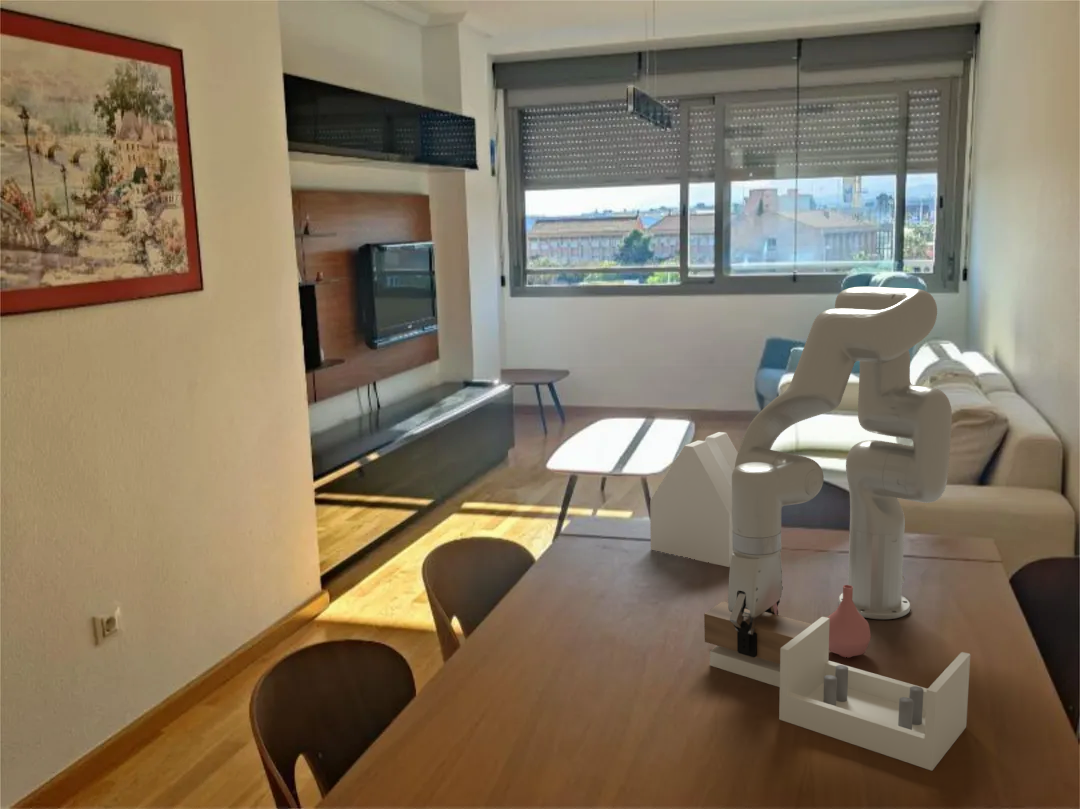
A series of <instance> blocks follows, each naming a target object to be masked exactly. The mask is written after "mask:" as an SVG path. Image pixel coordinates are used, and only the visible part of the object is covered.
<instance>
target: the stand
mask: <svg viewBox="0 0 1080 809" xmlns="http://www.w3.org/2000/svg"><path fill="white" fill-rule="evenodd" d="M829 623H830V618H827V616H821V617H820V618H818V619H817V620H815V621H814V622H813V623H811V624H812V625H810V626H809V627H808V628H806V629H805V630H804V631H802V632H801V633H800V634H798V635H797V636H796V637H794V638H793V639H792V640H791V641H789V642H788V643H787V644H785V645H784V646H783V647H781V648H780V687H779V707H778V708H779V709H778V710H779V711H778V712H779V713H778V715H779V716H778V717H779V718H778V719H779V720H780V721H783V722H785V723H789V724H790V725H791V724H792V725H794V726H798V727H801V728H804V729H807V730H809V731H813V732H816V733H818V734H822V735H825V736H827V737H830V738H834V739H836V740H839V741H842V742H846V743H847V744H852V745H854V746H856V747H860V748H864V749H866V750H869V751H872V752H875V753H877V754H882V755H884V756H887V757H890V758H893V759H896V760H899V761H902V762H905V763H908V764H910V765H914V766H917V767H920V768H922V769H926V770H928V771H933V770H935V768H936V767H937V765H938V764H939V763H940V761H942V759H943V757H944V756H945V755H946V753H948V751H949V750H950V749H951V748H952V746H953V745H954V743H955V742H956V741H957V739H959V737H960V736H961V735H962V733H963V732H964V731H965V729H966V728H967V720H968V702H969V683H970V668H971V654H970V653H968V652H964V651H961V652H960V653H959V654H958V655H957V656H956V657H955V658H954V660H952V662H950V664H949V665H948V666H947V667H946V668H945V669H944V671H942V673H940V675H939V676H938V677H937V678H936V679H935V680H934V681H933V682H932V683H931V684H930V686H929V687H928V688H927V687H923V686H919V685H917V684H912V683H909V682H906V681H902V680H899V679H894V678H891V677H888V676H884V675H881V674H877V673H873V672H870V671H867V670H864V669H860V668H856V667H854V666H849V665H846V664H841V663H839V662H835V661H831V660H829V658H830V656H829V653H830V650H829Z"/></svg>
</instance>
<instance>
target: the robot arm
mask: <svg viewBox="0 0 1080 809" xmlns="http://www.w3.org/2000/svg"><path fill="white" fill-rule="evenodd" d="M937 316H938V306H937V302H936V300H935V298H934V296H933V295H931V293H929V292H928V291H926V290H924V289H920V288H910V287H909V288H908V287H907V288H905V287H886V286H885V287H884V286H854V287H853V286H852V287H849V288H846V289H843V290H841V291H840V292H839V293H838V295H837V296H836V298H835V303H834V308H829V309H826V310H824V311H822V312H820V313H819V314H818V315H817V316H816V317H815V319H814V320H813V323H812V325H811V328H810V330H809V332H808V335H807V337H806V338H807V339H806V340H805V343H804V346H803V348H802V352H801V354H800V358H799V360H798V362H797V365H796V368H795V371H794V373H793V375H792V376H793V377H792V378H791V382H790V384H789V386H788V388H787V389H786V390H785V391H783V392H782V393H780V394H779V395H778V396H777V397H775V398H774V399H772V401H770V402H769V403H768V404H767V405H766V406H764V407H763V409H762V410H760V412H758V413H757V415H755V416H754V417H753V419H752V421H751V422H750V423H749V425H748V426H747V428H746V430H745V433H744V435H743V438H742V441H741V444H740V446H739V449H738V450H737V452H738V454H737V458H736V462H735V469H734V470H733V473H732V537H733V551H734V553H733V554H732V558H731V564H730V567H729V571H728V572H729V573H728V574H729V575H728V589H727V590H728V592H727V594H728V595H727V602H728V609H729V611H730V612H732V613H731V616H730V621H731V622H732V623H733V625H734V627H735V629H736V631H737V651H738V653H740V654H743V655H747V656H750V657H756V656H757V633H754V631H755V625H756V620H757V616H758V615H760V614H762V613H763V612H768V613H772V614H775V615H779V614H780V613H779V612H780V611H779V604H780V602H781V598H782V593H783V589H784V587H783V569H782V557H781V553H782V508H783V507H784V506H791V505H798V504H803V503H806V502H809V501H811V500H813V499H814V498H815V497H816V496H818V494H819V493H820V491H821V490H822V487H823V485H824V471H823V469H822V467H821V466H820V464H819V463H818V462H817V461H816V460H813V459H812V458H809V457H806V456H803V455H798V454H794V453H789V452H784V451H779V450H775V449H773V450H772V447H773V445H774V443H775V442H776V440H777V438H778V437H780V435H781V434H782V433H783V432H784V431H785V430H787V429H789V428H790V427H791V426H793V425H796V424H797V423H800V422H802V421H805V420H808V419H811V418H814V417H817V416H820V415H822V414H827V413H830V412H832V411H834V410H835V409H837V408H838V407H839V406H840V405H841V402H842V400H843V396H844V393H845V391H846V387H847V385H848V382H849V379H850V376H851V374H852V370H853V369H854V366H855V364H856V362H859V378H858V398H857V399H858V400H857V418H858V423H859V425H860V426H861V428H862V429H864V430H865V431H867V432H870V433H873V434H876V435H877V434H878V435H883V436H886V437H894V438H895V437H896V438H901V439H906V440H911V441H912V443H913V445H906V444H902V443H896V442H891V441H885V440H877V439H868V440H862V441H860V442H858V443H855V444H854V445H853V446H852V447H851V448H850V449H849V451H848V452H847V455H846V460H845V473H846V479H847V485H848V491H849V506H850V508H849V515H850V516H849V536H848V537H849V538H848V539H849V540H848V541H849V544H848V545H849V546H848V567H847V569H848V574H847V577H848V578H847V585H851V586H853V597H852V600H853V602H854V604H855V606H856V608H857V610H858V612H859V613H860V614H861V615H862V616H863V617H864V618H866V619H872V620H892V619H895V620H896V619H899V618H902V617H904V616H907V615H908V614H909V613H910V610H911V603H910V601H909V599H908V598H906V597H904V596H903V594H902V592H903V591H902V590H903V584H904V582H905V577H904V576H903V567H904V566H903V564H904V549H905V548H904V547H905V546H904V544H905V530H906V529H905V528H906V527H905V526H906V525H905V524H906V523H905V522H906V520H905V514H904V509H903V507H902V505H901V503H900V501H899V499H902V500H907V501H912V502H917V503H924V504H925V503H926V504H927V503H928V504H929V503H934V502H937V501H938V500H939V499H940V498H942V496H943V494H944V493H945V491H946V487H947V484H948V477H949V468H950V456H951V455H950V454H951V441H952V440H951V439H952V425H953V412H952V406H951V402H950V400H949V398H948V396H947V395H946V393H945V392H944V391H942V390H940V389H938V388H935V387H933V386H925V385H915V384H912V383H911V377H910V376H911V354H910V351H909V350H910V349H912V348H913V347H915V345H917V344H919V343H920V342H921V341H923V340H924V339H925V338H926V337H927V336H928V335H929V334H930V333H931V332H932V330H933V329H934V326H935V324H936V321H937ZM842 600H843V592H842V593H841V594H840V595H839V597H838V604H839V605H840V603H841V602H842ZM839 605H838V606H839ZM744 609H748V610H750V613H747V612H744ZM744 616H745V617H749V618H750V623H749V625H748V623H747V622H746V621H743V619H744Z"/></svg>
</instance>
